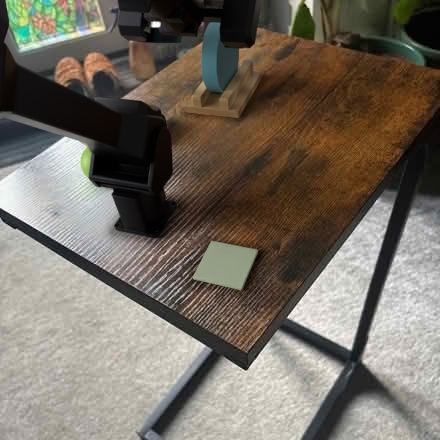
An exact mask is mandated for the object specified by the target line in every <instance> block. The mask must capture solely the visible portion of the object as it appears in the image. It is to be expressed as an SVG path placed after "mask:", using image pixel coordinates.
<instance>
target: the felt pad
mask: <svg viewBox="0 0 440 440" xmlns="http://www.w3.org/2000/svg"><path fill="white" fill-rule="evenodd" d="M258 253H259V249H256V248H251V247H245V246H240V245H235V244H231V243H226V242H220V241H216V240H211V241H210V243H209V245H208V247H207V248H206V250H205V253H204V254H203V256H202V258H201V260H200V262H199V265H198V267H197V268H196V269H195V272H194V274H193V276H192V279H193V280H194V281H199V282H204V283H207V284H213V285H217V286H221V287H225V288H229V289H234V290H238V291H243V289H244V287H245V284H246V282H247V279H248V277H249V275H250V274H251V273H250V272H251V270H252V267H253V265H254V263H255V260H256V258H257V256H258Z"/></svg>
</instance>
